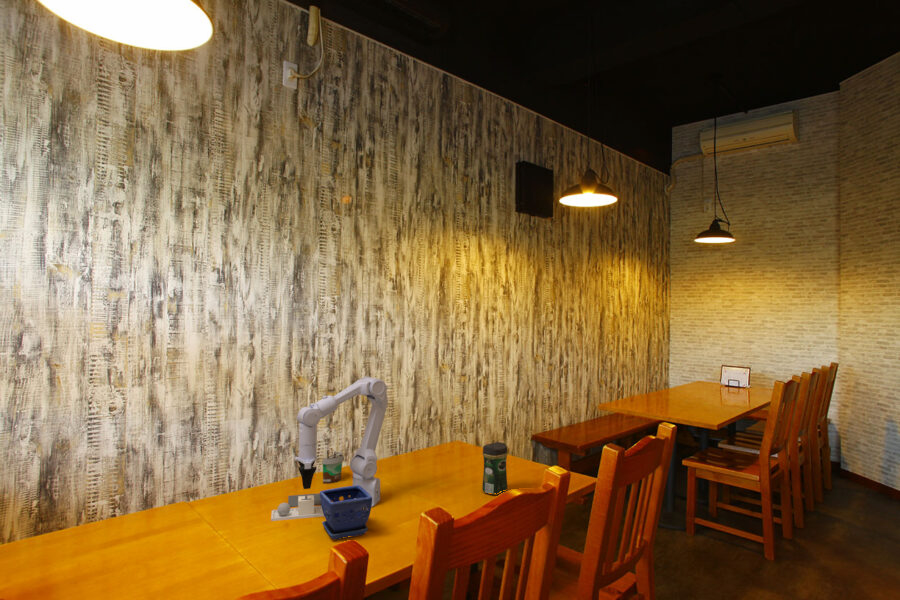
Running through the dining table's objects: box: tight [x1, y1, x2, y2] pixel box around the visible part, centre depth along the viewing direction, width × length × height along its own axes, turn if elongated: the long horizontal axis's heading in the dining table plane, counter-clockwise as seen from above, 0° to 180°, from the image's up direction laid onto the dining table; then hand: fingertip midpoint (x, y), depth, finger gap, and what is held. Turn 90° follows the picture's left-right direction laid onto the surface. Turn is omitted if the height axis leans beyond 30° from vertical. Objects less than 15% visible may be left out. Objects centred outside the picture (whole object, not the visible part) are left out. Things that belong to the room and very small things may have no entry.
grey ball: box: [277, 502, 291, 516], centre depth 171 cm, size 4×4×4 cm
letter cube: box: [297, 495, 315, 516], centre depth 173 cm, size 5×5×5 cm
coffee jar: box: [481, 441, 508, 495], centre depth 199 cm, size 10×8×19 cm
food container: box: [321, 451, 345, 485], centre depth 210 cm, size 12×6×10 cm, turn 168°
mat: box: [287, 492, 321, 508], centre depth 185 cm, size 11×11×1 cm
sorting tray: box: [270, 505, 325, 522], centre depth 173 cm, size 22×8×1 cm, turn 107°
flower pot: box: [319, 485, 372, 540], centre depth 159 cm, size 13×13×12 cm
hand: (306, 485), depth 173 cm, fingers open, 7 cm apart
